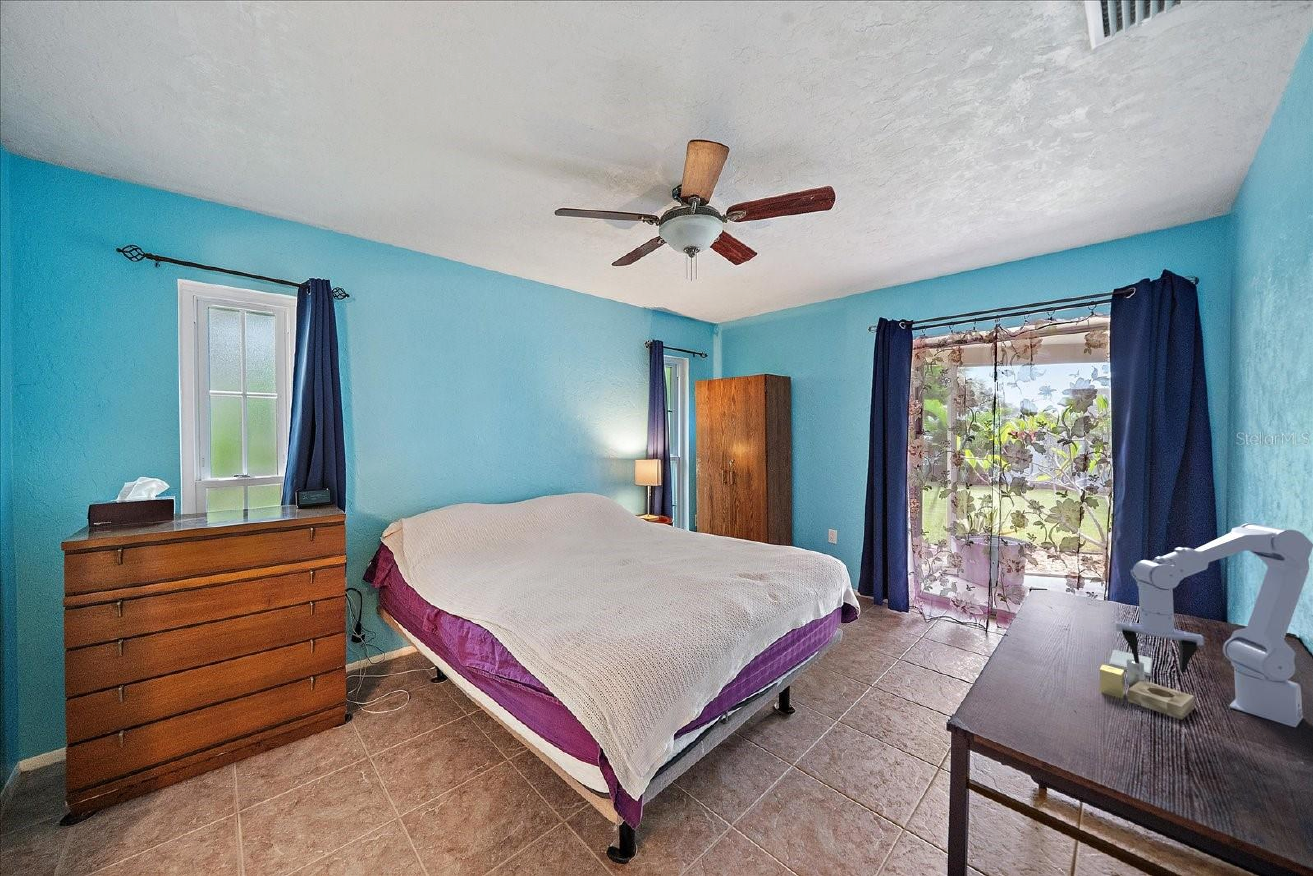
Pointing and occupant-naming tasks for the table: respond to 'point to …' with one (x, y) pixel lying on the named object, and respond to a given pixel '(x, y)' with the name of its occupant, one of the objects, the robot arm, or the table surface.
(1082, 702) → the table surface
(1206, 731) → the table surface
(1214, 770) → the table surface
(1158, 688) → the socket block
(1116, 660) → the hard drive
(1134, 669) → the round peg
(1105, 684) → the square bit
